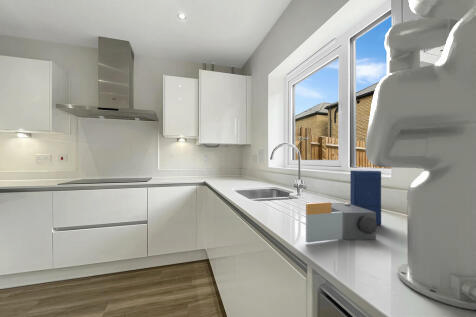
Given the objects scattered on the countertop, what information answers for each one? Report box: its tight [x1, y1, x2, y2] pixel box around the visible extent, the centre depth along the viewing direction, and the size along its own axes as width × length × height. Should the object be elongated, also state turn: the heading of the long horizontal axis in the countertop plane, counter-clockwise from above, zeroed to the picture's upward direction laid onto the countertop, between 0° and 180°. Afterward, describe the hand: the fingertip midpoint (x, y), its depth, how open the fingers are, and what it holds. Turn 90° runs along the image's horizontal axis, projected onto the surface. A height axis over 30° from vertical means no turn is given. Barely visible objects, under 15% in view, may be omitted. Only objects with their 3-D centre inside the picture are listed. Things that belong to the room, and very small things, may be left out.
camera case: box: [330, 202, 378, 241], centre depth 67 cm, size 16×10×9 cm, turn 5°
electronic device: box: [349, 170, 382, 226], centre depth 77 cm, size 10×5×20 cm, turn 84°
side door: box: [305, 201, 343, 244], centre depth 58 cm, size 12×1×11 cm, turn 106°
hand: (402, 142), depth 59 cm, fingers closed
